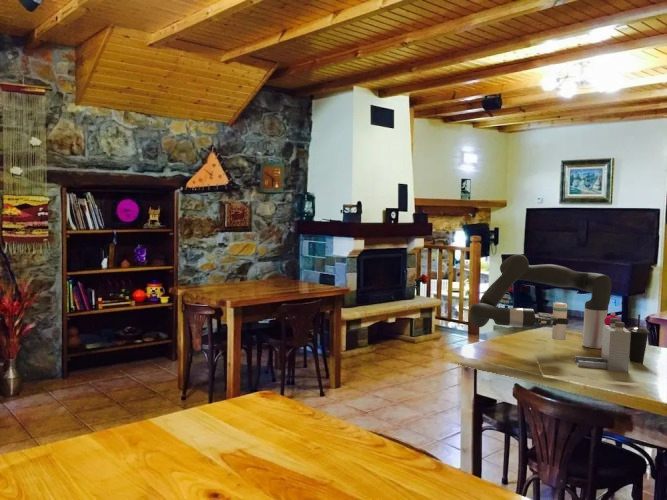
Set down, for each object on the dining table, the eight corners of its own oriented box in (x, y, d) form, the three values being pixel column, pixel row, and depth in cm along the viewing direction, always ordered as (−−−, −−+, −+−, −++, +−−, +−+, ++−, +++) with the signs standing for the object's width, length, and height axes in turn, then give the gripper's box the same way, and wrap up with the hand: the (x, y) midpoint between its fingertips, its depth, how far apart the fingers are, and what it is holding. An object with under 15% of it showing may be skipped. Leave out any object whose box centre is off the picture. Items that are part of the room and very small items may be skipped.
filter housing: (573, 362, 226) (576, 323, 225) (620, 366, 221) (622, 326, 220) (579, 370, 214) (581, 328, 213) (628, 374, 210) (630, 332, 209)
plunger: (608, 334, 221) (609, 317, 221) (617, 334, 221) (618, 318, 220) (610, 335, 218) (611, 319, 218) (619, 336, 218) (620, 319, 217)
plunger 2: (613, 338, 214) (614, 321, 213) (622, 339, 213) (623, 322, 212) (615, 340, 211) (616, 323, 210) (624, 340, 210) (625, 323, 209)
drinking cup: (621, 360, 230) (624, 312, 229) (639, 361, 231) (642, 312, 229) (632, 366, 222) (636, 316, 221) (651, 366, 223) (654, 316, 222)
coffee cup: (550, 336, 224) (552, 302, 223) (564, 337, 223) (566, 302, 222) (552, 339, 219) (554, 304, 218) (566, 340, 218) (568, 305, 217)
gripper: (523, 311, 217) (570, 314, 212) (520, 305, 230) (564, 307, 226) (522, 330, 217) (569, 333, 213) (519, 323, 231) (563, 325, 227)
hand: (566, 320), depth 220 cm, fingers closed on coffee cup, 5 cm apart
